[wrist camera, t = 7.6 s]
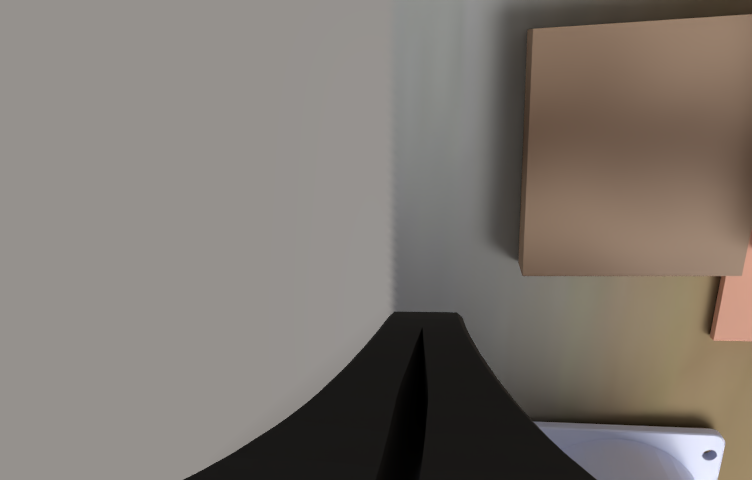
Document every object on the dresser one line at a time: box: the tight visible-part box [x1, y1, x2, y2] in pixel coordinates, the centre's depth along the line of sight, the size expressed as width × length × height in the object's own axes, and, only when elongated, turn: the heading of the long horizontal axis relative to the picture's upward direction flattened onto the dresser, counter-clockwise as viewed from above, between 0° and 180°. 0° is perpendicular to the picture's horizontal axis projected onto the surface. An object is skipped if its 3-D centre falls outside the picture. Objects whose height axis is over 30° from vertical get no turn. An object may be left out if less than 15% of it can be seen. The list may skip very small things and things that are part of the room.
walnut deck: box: [518, 14, 752, 276], centre depth 17 cm, size 8×7×1 cm
